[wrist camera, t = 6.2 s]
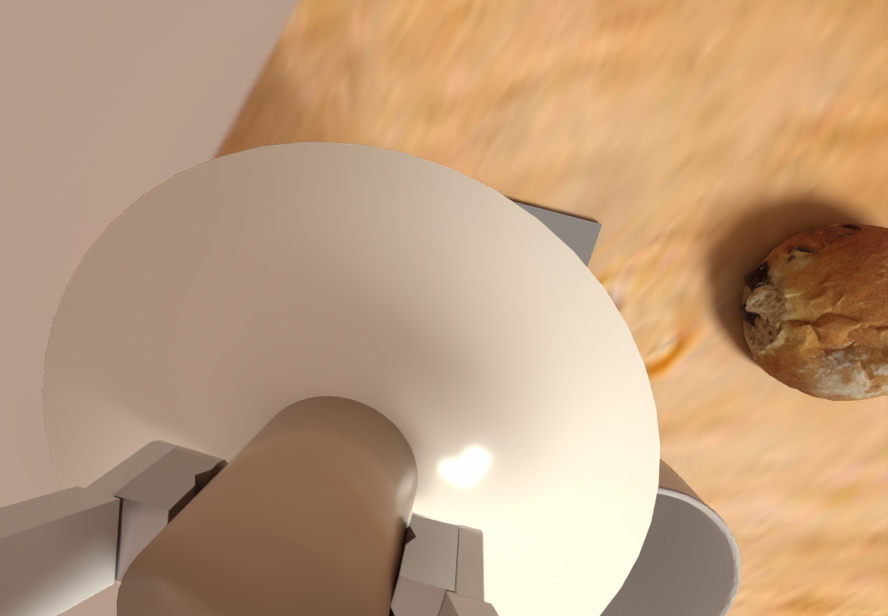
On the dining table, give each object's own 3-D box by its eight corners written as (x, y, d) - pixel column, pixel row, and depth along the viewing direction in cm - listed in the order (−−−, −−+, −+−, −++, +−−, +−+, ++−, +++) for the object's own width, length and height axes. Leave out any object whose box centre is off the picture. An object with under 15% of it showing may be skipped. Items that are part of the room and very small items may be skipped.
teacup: (496, 440, 29) (503, 525, 21) (653, 395, 27) (722, 469, 20) (556, 595, 32) (582, 721, 24) (702, 563, 30) (780, 687, 22)
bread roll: (754, 372, 30) (882, 457, 23) (687, 311, 25) (825, 397, 18) (867, 264, 28) (1045, 323, 21) (819, 174, 23) (1032, 213, 16)
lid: (741, 245, 9) (1060, 290, 4) (536, 715, 13) (573, 1040, 8) (97, 76, 9) (-337, -74, 4) (79, 583, 13) (-169, 815, 8)
